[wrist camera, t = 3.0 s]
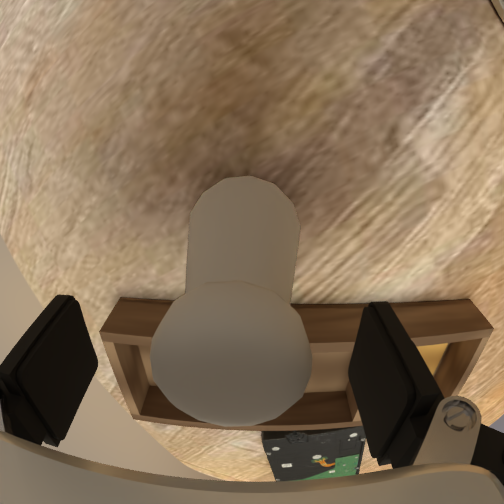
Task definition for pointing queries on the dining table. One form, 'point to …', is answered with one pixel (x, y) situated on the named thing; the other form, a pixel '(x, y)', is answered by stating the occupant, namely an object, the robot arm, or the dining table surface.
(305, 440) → the disk drive
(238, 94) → the dining table surface
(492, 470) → the robot arm
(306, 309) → the wooden compartment tray
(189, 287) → the salt shaker
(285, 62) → the dining table surface
